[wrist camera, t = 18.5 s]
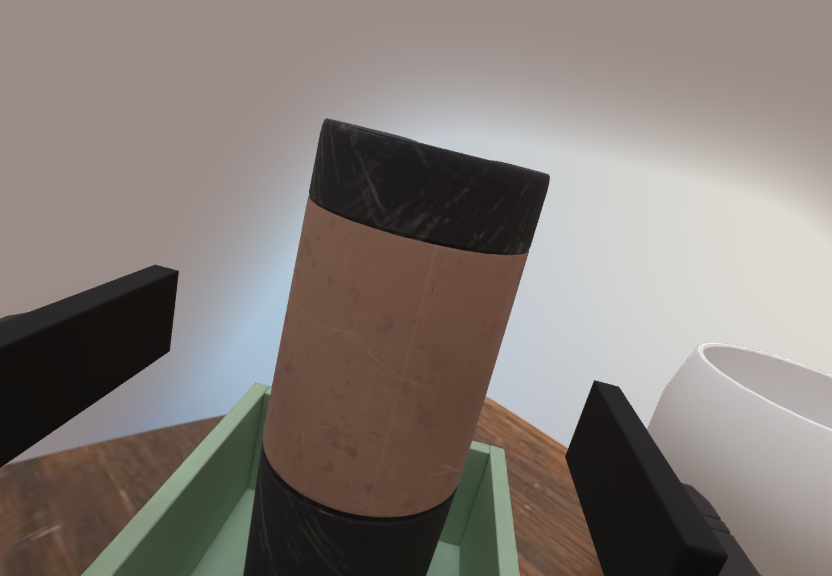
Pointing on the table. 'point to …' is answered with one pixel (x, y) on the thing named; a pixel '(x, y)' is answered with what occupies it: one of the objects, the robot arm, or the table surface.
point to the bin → (233, 502)
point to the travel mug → (385, 351)
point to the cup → (755, 451)
